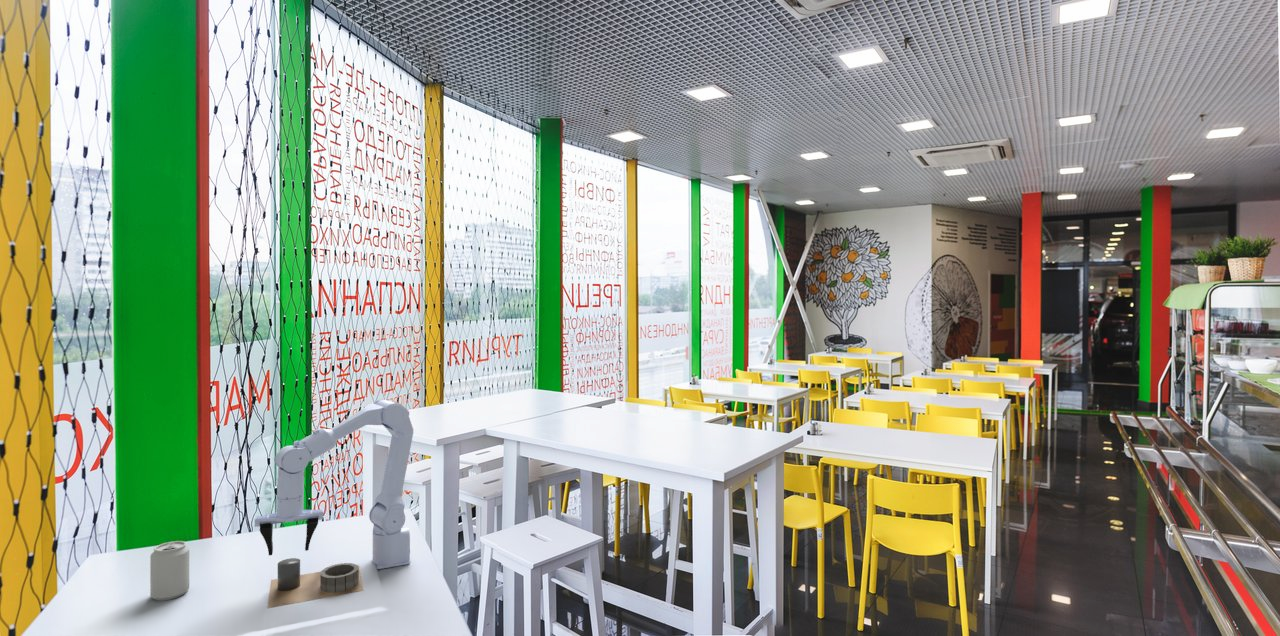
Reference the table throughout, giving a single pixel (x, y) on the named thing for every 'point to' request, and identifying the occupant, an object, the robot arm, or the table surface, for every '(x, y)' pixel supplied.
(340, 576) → the barrel mount
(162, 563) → the can
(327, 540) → the table surface
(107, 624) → the table surface
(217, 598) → the table surface
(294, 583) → the dark gray cylinder
